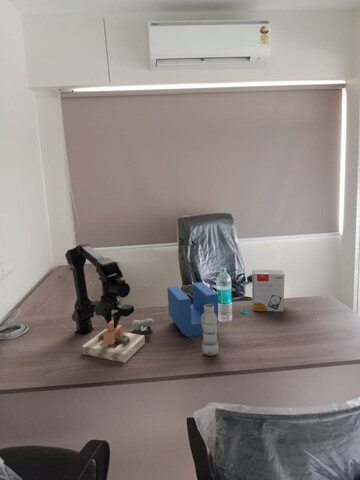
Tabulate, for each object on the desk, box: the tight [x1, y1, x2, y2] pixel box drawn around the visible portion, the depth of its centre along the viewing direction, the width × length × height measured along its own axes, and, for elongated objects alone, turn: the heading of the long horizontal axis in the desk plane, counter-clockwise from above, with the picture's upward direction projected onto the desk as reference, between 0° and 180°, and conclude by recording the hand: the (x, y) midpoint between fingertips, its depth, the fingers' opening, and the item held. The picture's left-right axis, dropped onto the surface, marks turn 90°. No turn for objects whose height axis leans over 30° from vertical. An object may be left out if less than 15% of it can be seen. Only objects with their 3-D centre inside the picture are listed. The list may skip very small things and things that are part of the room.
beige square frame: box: [81, 328, 146, 363], centre depth 140 cm, size 20×16×5 cm
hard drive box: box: [251, 269, 285, 313], centre depth 172 cm, size 16×8×20 cm, turn 81°
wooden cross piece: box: [103, 319, 124, 345], centre depth 139 cm, size 4×8×8 cm, turn 157°
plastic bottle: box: [201, 304, 220, 357], centre depth 131 cm, size 6×7×20 cm
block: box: [167, 281, 219, 338], centre depth 155 cm, size 18×18×18 cm
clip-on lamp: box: [122, 318, 155, 337], centre depth 152 cm, size 12×6×18 cm
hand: (112, 327), depth 138 cm, fingers closed on wooden cross piece, 2 cm apart
